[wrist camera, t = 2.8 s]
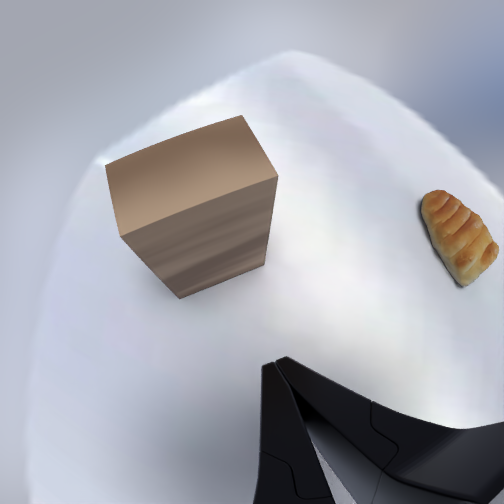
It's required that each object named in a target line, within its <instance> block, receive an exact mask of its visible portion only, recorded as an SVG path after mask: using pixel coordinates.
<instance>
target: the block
mask: <svg viewBox="0 0 504 504" xmlns="http://www.w3.org/2000/svg"><path fill="white" fill-rule="evenodd" d="M105 168H106V174H107V179H108V184H109V189H110V194H111V199H112V204H113V209H114V213H115V218H116V222H117V226H118V230H119V234H120V237H121V238H122V239H123V240H124V241H125V243H126V244H127V245H128V246H129V247H130V248H131V249H132V250H133V251H134V252H135V253H136V255H137V256H138V257H139V258H140V259H141V260H142V261H143V262H144V263H145V264H146V265H147V266H148V267H149V268H150V269H151V270H152V271H153V273H154V274H155V275H156V276H157V277H158V278H159V279H160V280H161V281H162V282H163V283H164V284H165V285H166V286H167V287H168V288H169V289H170V290H171V291H172V292H173V293H174V294H175V295H176V296H177V297H178V298H179V299H181V298H184V297H186V296H189V295H191V294H194V293H196V292H199V291H201V290H204V289H206V288H209V287H211V286H214V285H216V284H219V283H221V282H223V281H226V280H228V279H231V278H233V277H236V276H238V275H241V274H243V273H246V272H248V271H250V270H253V269H255V268H258V267H260V266H263V265H264V262H265V256H266V250H267V244H268V238H269V232H270V226H271V219H272V213H273V207H274V200H275V194H276V188H277V181H278V174H277V172H276V171H275V169H274V167H273V166H272V164H271V162H270V160H269V159H268V157H267V155H266V154H265V152H264V150H263V149H262V147H261V145H260V144H259V142H258V140H257V139H256V137H255V135H254V134H253V132H252V130H251V129H250V127H249V126H248V124H247V122H246V121H245V119H244V117H243V116H242V115H240V116H237V117H234V118H230V119H227V120H224V121H220V122H217V123H214V124H211V125H208V126H205V127H202V128H199V129H196V130H193V131H190V132H187V133H184V134H181V135H179V136H176V137H173V138H170V139H168V140H165V141H162V142H160V143H157V144H155V145H152V146H149V147H147V148H144V149H142V150H139V151H137V152H135V153H132V154H130V155H127V156H125V157H123V158H121V159H118V160H116V161H114V162H111V163H109V164H107V165H105Z"/></svg>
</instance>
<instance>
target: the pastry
mask: <svg viewBox="0 0 504 504" xmlns="http://www.w3.org/2000/svg"><path fill="white" fill-rule="evenodd" d="M421 214H422V217H423V220H424V222H425V223H426V225H427V228H428V232H429V234H430V237H431V242H432V245H433V247H434V249H436V250H437V252H438V254H439V256H440V257H441V259H442V261H443V262H444V264H445V266H446V268H447V269H448V271H449V272H450V274H451V275H452V277H453V278H454V279H455V280H456V281H457V282H458V283H459V284H460V285H461V286H468V285H469V284H471V283H472V282H474V281H475V280H476V279H477V278H478V277H479V275H480V274H481V273H482V272H483V271H485V270H486V269H487V268H488V267H489V266H490V265H491V264H492V263H493V262H494V260H495V259H496V258H497V255H498V252H499V246H498V245H497V244H496V243H495V242H494V241H493V239H492V237H491V235H490V233H489V231H488V229H487V227H486V226H485V225H484V223H483V221H482V219H481V218H480V216H479V215H478V214H475V213H474V212H472V211H471V210H470V209H469V208H467V207H465V206H464V205H463V204H462V202H461V201H460V200H459V199H457V198H455V197H454V196H453V195H451V194H449V193H447V192H446V191H444V190H435V191H432V192H430V193H427V194H426V195H425V196H424V197H423V201H422V206H421Z"/></svg>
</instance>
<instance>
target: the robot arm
mask: <svg viewBox="0 0 504 504" xmlns="http://www.w3.org/2000/svg"><path fill="white" fill-rule="evenodd" d="M311 440H312V441H311ZM312 442H313V443H314V444H315V446H316V447H317V449H318V450H319V452H320V453H321V454H322V456H323V457H324V459H325V460H326V462H327V463H328V464H329V466H330V467H331V469H332V470H333V471H334V473H335V474H336V476H337V477H338V478H339V480H340V481H341V482H342V484H343V485H344V487H345V488H346V489H347V491H348V492H349V493H350V495H351V496H352V497H353V499H354V500H355V501H356V503H357V504H504V422H500V423H495V424H491V425H486V426H481V427H476V428H470V429H456V428H449V427H445V426H442V425H438V424H434V423H431V422H427V421H424V420H420V419H417V418H414V417H411V416H408V415H405V414H402V413H399V412H396V411H394V410H392V409H389V408H387V407H385V406H382V405H380V404H378V403H376V402H374V401H372V402H371V400H370V399H368V398H366V397H364V396H362V395H360V394H358V393H356V392H354V391H352V390H350V389H348V388H346V387H344V386H342V385H340V384H338V383H336V382H334V381H332V380H330V379H328V378H326V377H325V376H323V375H321V374H319V373H317V372H315V371H313V370H311V369H310V368H308V367H306V366H304V365H302V364H300V363H299V362H297V361H295V360H293V359H291V358H290V357H287V356H286V357H283V358H280V359H278V360H276V361H275V362H270V363H267V364H265V365H263V366H262V369H261V411H260V447H259V451H260V452H259V467H258V479H257V485H256V491H255V496H254V501H253V504H336V503H335V501H334V498H333V496H332V493H331V490H330V488H329V485H328V483H327V480H326V478H325V475H324V472H323V470H322V467H321V465H320V462H319V460H318V457H317V454H316V452H315V449H314V447H313V444H312Z"/></svg>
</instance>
